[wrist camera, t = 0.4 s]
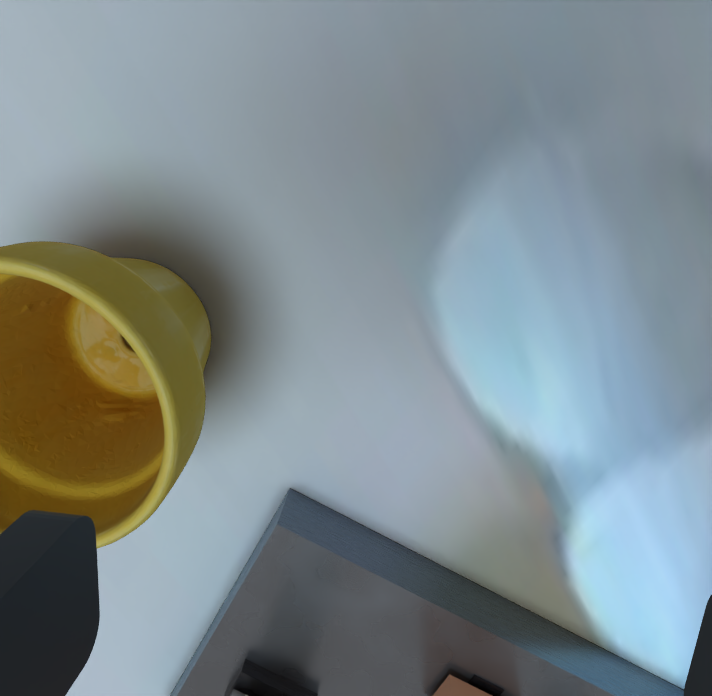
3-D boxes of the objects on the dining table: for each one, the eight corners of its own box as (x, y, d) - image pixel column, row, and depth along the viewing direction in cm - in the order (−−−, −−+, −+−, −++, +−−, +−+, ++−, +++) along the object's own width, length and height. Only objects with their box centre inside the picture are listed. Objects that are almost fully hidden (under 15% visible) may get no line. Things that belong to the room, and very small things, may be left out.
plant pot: (297, 299, 28) (235, 383, 19) (190, 468, 31) (94, 609, 22) (90, 166, 27) (-83, 186, 18) (3, 355, 30) (-180, 455, 21)
